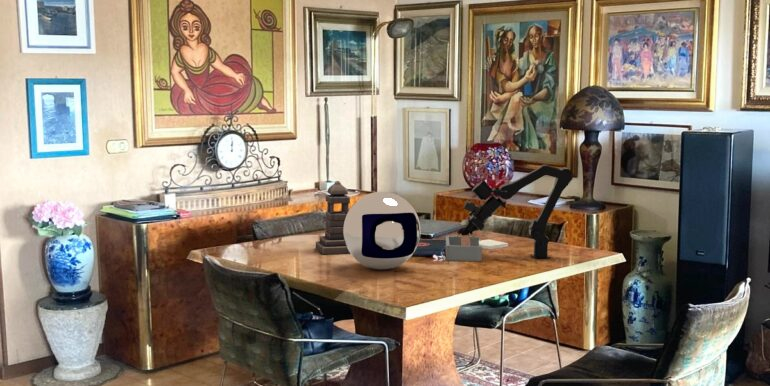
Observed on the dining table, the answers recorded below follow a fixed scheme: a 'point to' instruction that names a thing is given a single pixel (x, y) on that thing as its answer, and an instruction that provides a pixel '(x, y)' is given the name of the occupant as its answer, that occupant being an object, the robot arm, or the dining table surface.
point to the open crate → (463, 249)
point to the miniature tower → (335, 222)
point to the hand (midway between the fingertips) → (461, 234)
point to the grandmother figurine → (464, 238)
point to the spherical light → (381, 230)
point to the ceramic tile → (492, 244)
